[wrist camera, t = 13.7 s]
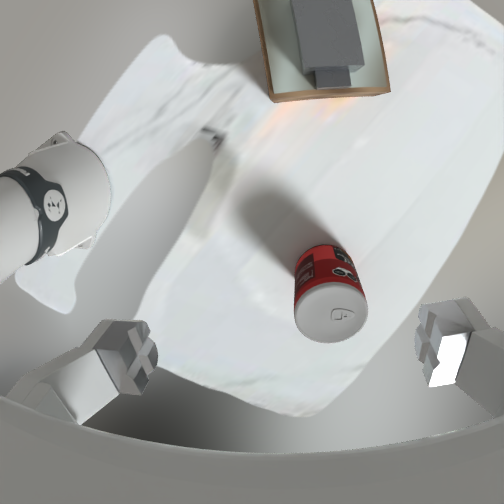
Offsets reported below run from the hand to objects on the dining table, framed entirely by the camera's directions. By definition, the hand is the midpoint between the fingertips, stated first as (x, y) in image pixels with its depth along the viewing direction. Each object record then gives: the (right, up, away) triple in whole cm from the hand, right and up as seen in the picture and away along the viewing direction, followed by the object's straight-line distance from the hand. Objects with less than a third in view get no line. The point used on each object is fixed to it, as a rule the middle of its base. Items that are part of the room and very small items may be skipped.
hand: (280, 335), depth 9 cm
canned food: (+9, 0, +33) cm, 34 cm away
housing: (+6, +23, +15) cm, 28 cm away
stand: (+7, +26, +22) cm, 34 cm away
